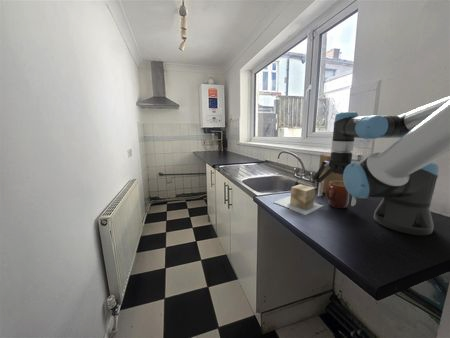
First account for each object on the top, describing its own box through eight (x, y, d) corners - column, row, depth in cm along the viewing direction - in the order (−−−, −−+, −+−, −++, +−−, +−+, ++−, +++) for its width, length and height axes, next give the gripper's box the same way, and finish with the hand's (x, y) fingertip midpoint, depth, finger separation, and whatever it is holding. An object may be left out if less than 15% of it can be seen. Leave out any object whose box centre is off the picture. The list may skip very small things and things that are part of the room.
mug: (335, 200, 87) (338, 179, 85) (354, 208, 79) (357, 185, 77) (316, 204, 83) (318, 182, 81) (334, 212, 75) (337, 188, 73)
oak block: (313, 205, 81) (315, 187, 79) (304, 209, 77) (306, 191, 75) (299, 200, 86) (300, 184, 85) (290, 204, 82) (291, 187, 81)
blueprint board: (323, 206, 81) (323, 205, 81) (305, 215, 73) (305, 214, 73) (291, 196, 93) (291, 195, 93) (273, 202, 85) (273, 201, 85)
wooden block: (334, 188, 105) (339, 153, 101) (344, 194, 95) (349, 156, 91) (316, 188, 106) (319, 153, 102) (323, 194, 96) (327, 156, 92)
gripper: (382, 153, 68) (373, 207, 73) (316, 148, 88) (312, 190, 92) (376, 155, 64) (366, 212, 68) (307, 149, 83) (304, 193, 88)
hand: (335, 200), depth 80 cm, fingers open, 13 cm apart
